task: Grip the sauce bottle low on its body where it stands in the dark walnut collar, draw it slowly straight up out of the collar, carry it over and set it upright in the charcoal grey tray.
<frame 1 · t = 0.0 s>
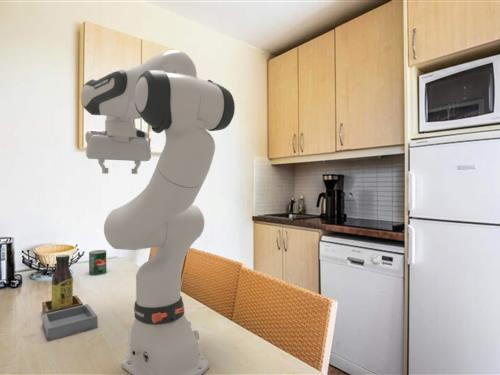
hand: (120, 173, 104), 48 cm above the table, tool pointing down, fingers open, 8 cm apart
walnut collar: (62, 312, 107), on the table
grey tray: (69, 326, 97), on the table
sauce bottle: (62, 313, 107), resting in walnut collar
canned tomato: (98, 273, 156), on the table
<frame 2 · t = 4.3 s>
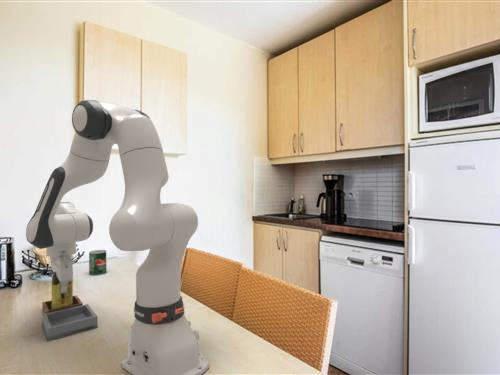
hand: (61, 288, 107), 8 cm above the table, tool pointing down, fingers open, 6 cm apart
sauce bottle: (62, 313, 107), resting in walnut collar, touching arm, gripper
everything else where it was.
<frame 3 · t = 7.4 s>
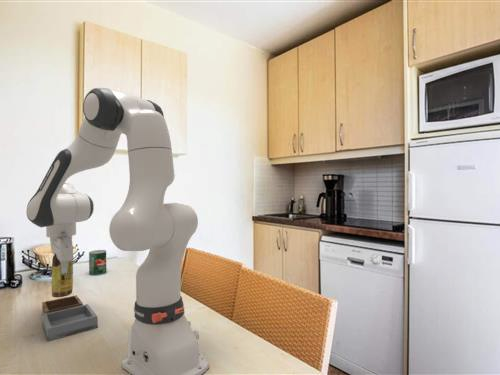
hand: (62, 270, 107), 15 cm above the table, tool pointing down, fingers closed on sauce bottle, 6 cm apart
sauce bottle: (62, 295, 107), point 6 cm above the table, touching gripper
everything else where it was.
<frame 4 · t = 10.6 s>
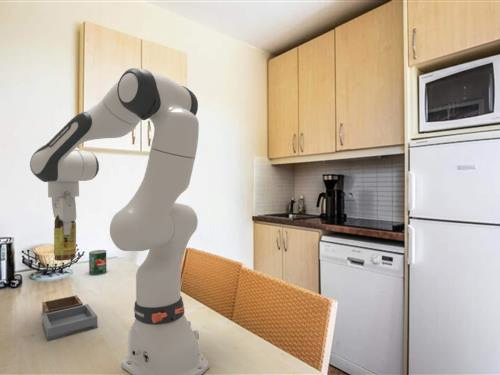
hand: (64, 233, 102), 28 cm above the table, tool pointing down, fingers closed on sauce bottle, 6 cm apart
sauce bottle: (65, 259, 102), point 20 cm above the table, touching gripper
everything else where it was.
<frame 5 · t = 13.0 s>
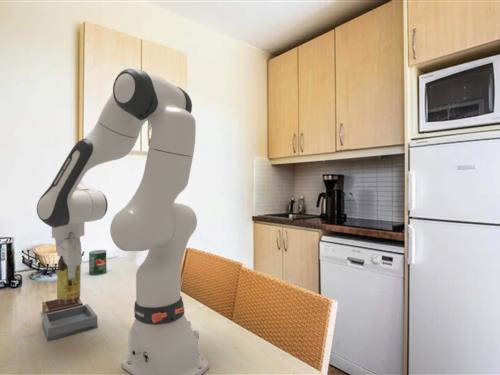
hand: (68, 275, 97), 16 cm above the table, tool pointing down, fingers closed on sauce bottle, 6 cm apart
sauce bottle: (69, 302, 97), point 7 cm above the table, touching gripper
everything else where it was.
when the fingers open (10 cm above the table, at t = 15.3 s): sauce bottle stays where it is, resting on grey tray.
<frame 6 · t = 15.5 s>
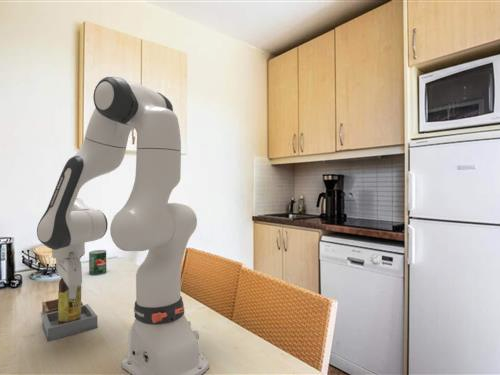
hand: (69, 294, 97), 10 cm above the table, tool pointing down, fingers open, 8 cm apart
sauce bottle: (70, 323, 97), point 1 cm above the table, touching grey tray
everything else where it was.
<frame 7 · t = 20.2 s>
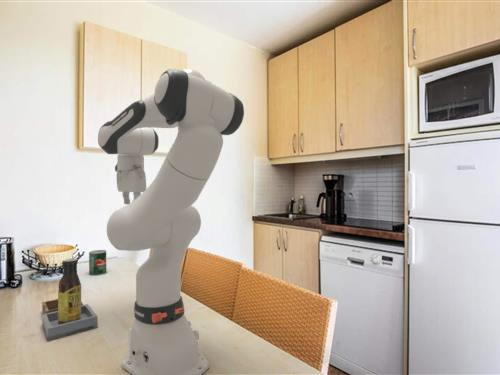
hand: (131, 204, 110), 37 cm above the table, tool pointing down, fingers open, 8 cm apart
nothing on the table moved.
at the end: sauce bottle inside the target area on the grey tray (0.2 cm from its centre), point 0.8 cm above the grey tray's base; sauce bottle tilted 0°; the gripper is holding nothing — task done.
